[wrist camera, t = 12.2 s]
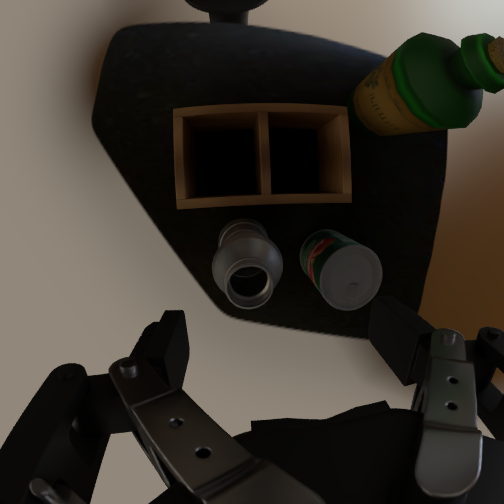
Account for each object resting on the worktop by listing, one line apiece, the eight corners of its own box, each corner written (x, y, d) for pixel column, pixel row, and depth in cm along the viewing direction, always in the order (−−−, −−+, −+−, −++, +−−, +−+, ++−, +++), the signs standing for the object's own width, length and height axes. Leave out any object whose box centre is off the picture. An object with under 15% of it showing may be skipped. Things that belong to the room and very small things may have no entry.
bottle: (326, 89, 37) (437, -10, 9) (382, 75, 36) (503, 4, 9) (355, 154, 39) (505, 130, 12) (408, 134, 39) (551, 112, 11)
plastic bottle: (211, 229, 41) (188, 270, 21) (254, 207, 40) (271, 228, 21) (232, 268, 42) (229, 338, 23) (274, 248, 42) (306, 302, 22)
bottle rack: (188, 126, 37) (173, 108, 27) (322, 123, 38) (347, 106, 28) (191, 203, 40) (176, 209, 30) (325, 198, 40) (351, 202, 31)
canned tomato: (296, 233, 41) (317, 250, 31) (347, 226, 42) (382, 240, 31) (302, 285, 43) (322, 316, 32) (350, 276, 43) (382, 303, 33)
